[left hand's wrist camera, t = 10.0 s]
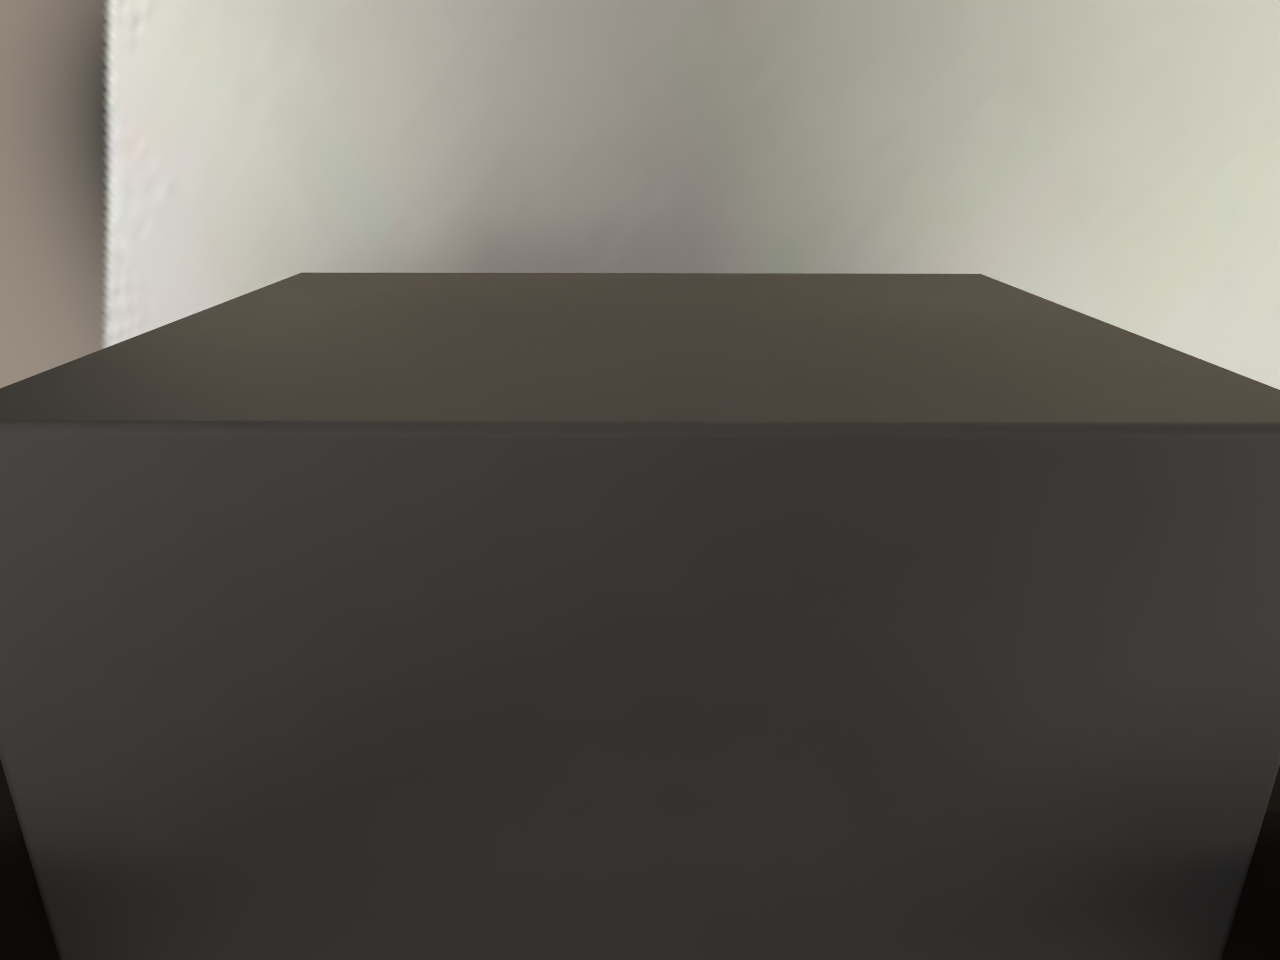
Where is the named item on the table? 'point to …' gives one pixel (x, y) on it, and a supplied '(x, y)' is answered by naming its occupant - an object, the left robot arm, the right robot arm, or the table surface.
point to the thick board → (639, 625)
